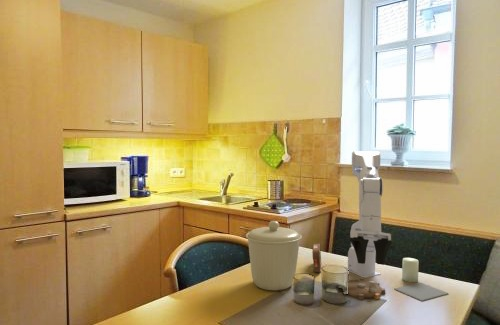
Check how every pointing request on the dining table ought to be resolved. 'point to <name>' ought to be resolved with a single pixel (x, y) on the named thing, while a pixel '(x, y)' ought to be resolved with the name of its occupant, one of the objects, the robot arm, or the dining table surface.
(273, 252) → the canister
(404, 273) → the sage can
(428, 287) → the slate mat
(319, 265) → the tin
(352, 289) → the sprocket wheel
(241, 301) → the dining table surface
